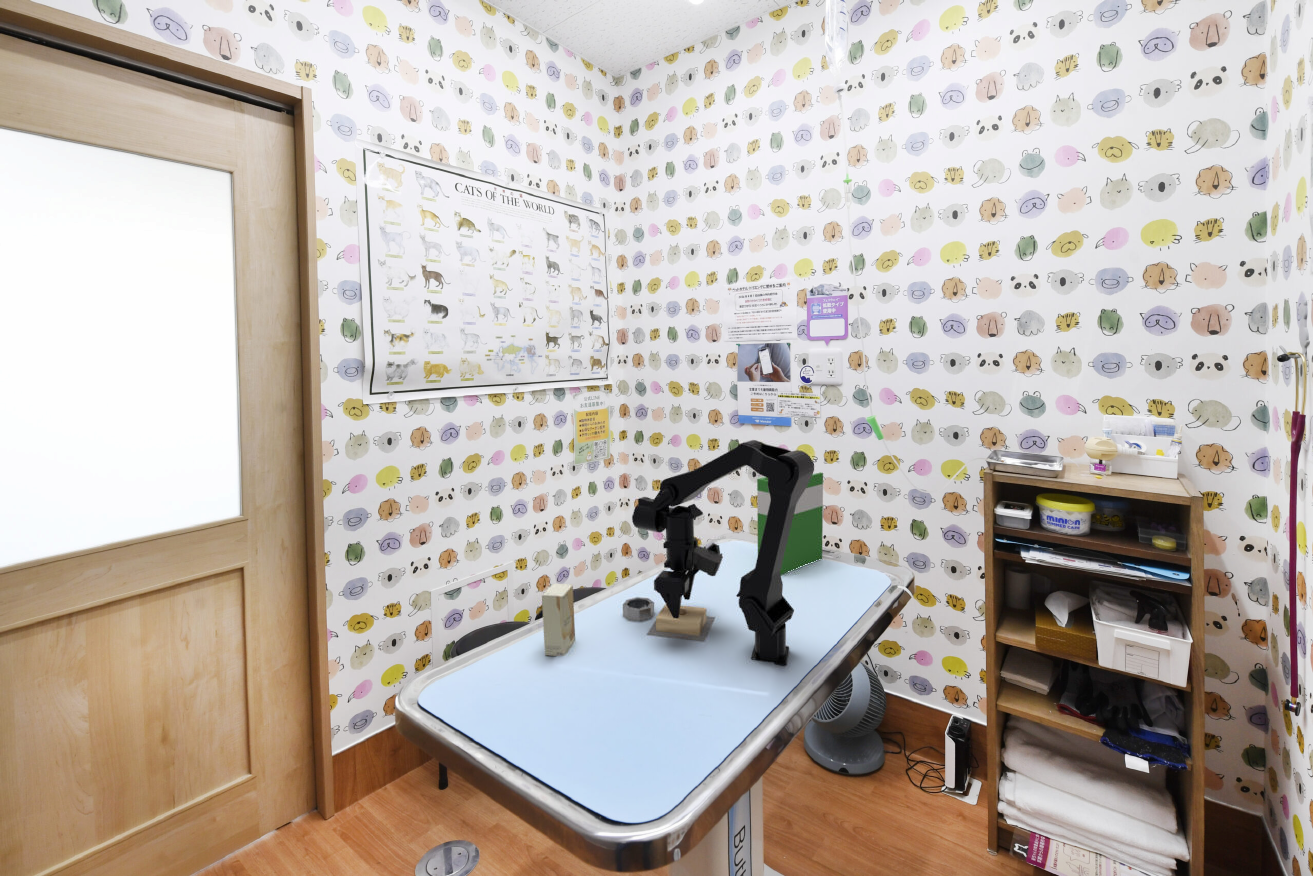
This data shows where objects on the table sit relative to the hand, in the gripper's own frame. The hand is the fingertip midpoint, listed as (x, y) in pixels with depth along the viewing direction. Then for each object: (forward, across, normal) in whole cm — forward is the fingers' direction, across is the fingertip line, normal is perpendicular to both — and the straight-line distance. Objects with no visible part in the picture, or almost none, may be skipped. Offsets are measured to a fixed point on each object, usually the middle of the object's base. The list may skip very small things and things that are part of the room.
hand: (681, 608), depth 123 cm
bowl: (+4, +3, +11) cm, 12 cm away
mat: (+4, 0, 0) cm, 4 cm away
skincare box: (+4, -14, +21) cm, 26 cm away
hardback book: (+5, +43, -19) cm, 47 cm away
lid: (+4, 0, 0) cm, 4 cm away
